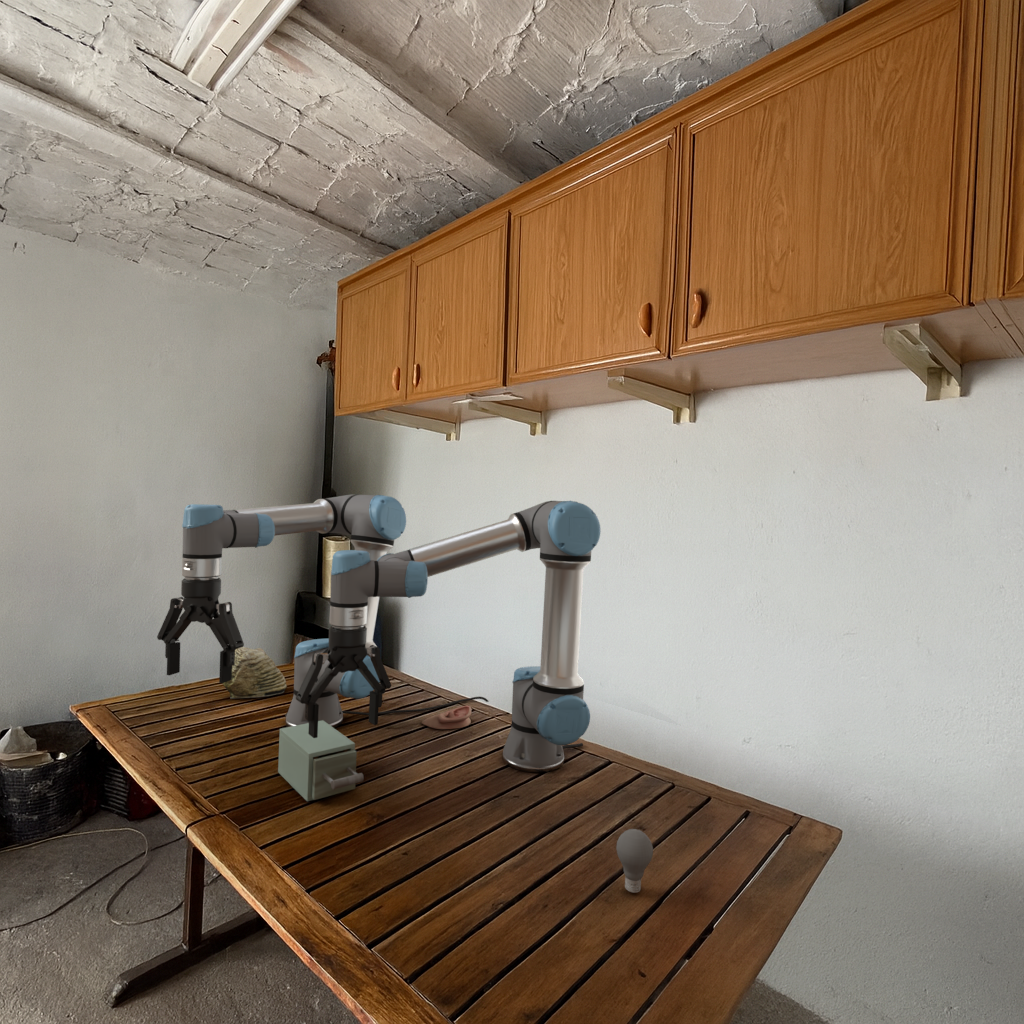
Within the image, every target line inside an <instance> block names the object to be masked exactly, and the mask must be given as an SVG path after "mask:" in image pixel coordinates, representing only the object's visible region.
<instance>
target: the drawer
mask: <svg viewBox="0 0 1024 1024" xmlns="http://www.w3.org/2000/svg"><path fill="white" fill-rule="evenodd" d="M357 755H358V754H357V750H356V749H355V750H351V751H347V750H342V751H338V752H334V753H329V754H325V755H321V756H317V757H313V775H312V798H313V799H314V800H313V801H317V800H319V799H320V800H321V799H323V798H327V797H331V796H334V795H338V794H341V793H345V792H349V791H352V790H355V789H356V784H359V783H362V782H364V774H363V772H359V773H358V772H357Z"/></svg>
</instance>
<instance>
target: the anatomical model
mask: <svg viewBox="0 0 1024 1024" xmlns="http://www.w3.org/2000/svg"><path fill="white" fill-rule="evenodd" d="M471 715H472V707H471V706H470V705H462V706H459V707H456V708H455V707H454V708H452V709H449V710H447V711H444V712H441V713H437V714H434V715H430V716H429V717H427V718H425V719H423V720H422V721H421V724H422V725H423V726H426V727H429V728H432V729H436V730H453V729H454V730H455V729H460V728H465V727H468V726H469V725H470V724H471V722H472V721H471V718H470V717H471Z"/></svg>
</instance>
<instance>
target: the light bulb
mask: <svg viewBox="0 0 1024 1024" xmlns="http://www.w3.org/2000/svg"><path fill="white" fill-rule="evenodd" d="M615 849H616V854H617V857H618V859H619V861H620V863H621V865H622V867H623V873H624V874H623V875H624V876H625V878H624V888H625V890H627V891H628V892H630V893H634V894H635V893H639V892H640V891H641V889H642V887H641V886H642V879H643V877H644V875H645V871H646V868H647V867H648V866H649V864H650V863H651V861H652V859H653V855H654V847H653V843H652V841H651V838H649V836H648V835H647V834H646V833H645V832H643V831H642V830H641V829H636V828H629V829H627V830H625V831H623V832H622V833H621V834H620V835H619V837H618V839H617V841H616V847H615Z"/></svg>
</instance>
